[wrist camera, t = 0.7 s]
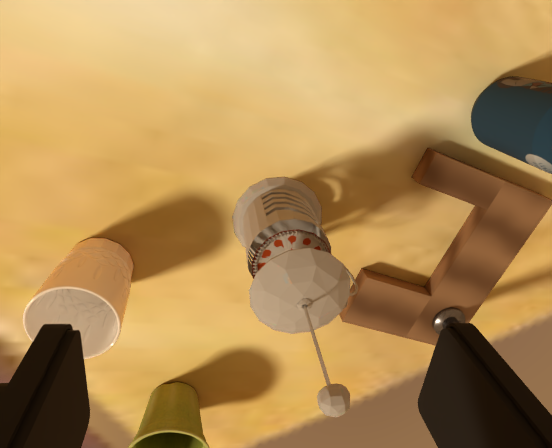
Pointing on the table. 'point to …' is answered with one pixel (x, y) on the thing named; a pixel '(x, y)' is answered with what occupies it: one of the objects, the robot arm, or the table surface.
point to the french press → (293, 267)
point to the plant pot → (171, 419)
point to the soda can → (516, 120)
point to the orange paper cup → (85, 295)
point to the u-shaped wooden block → (452, 253)
